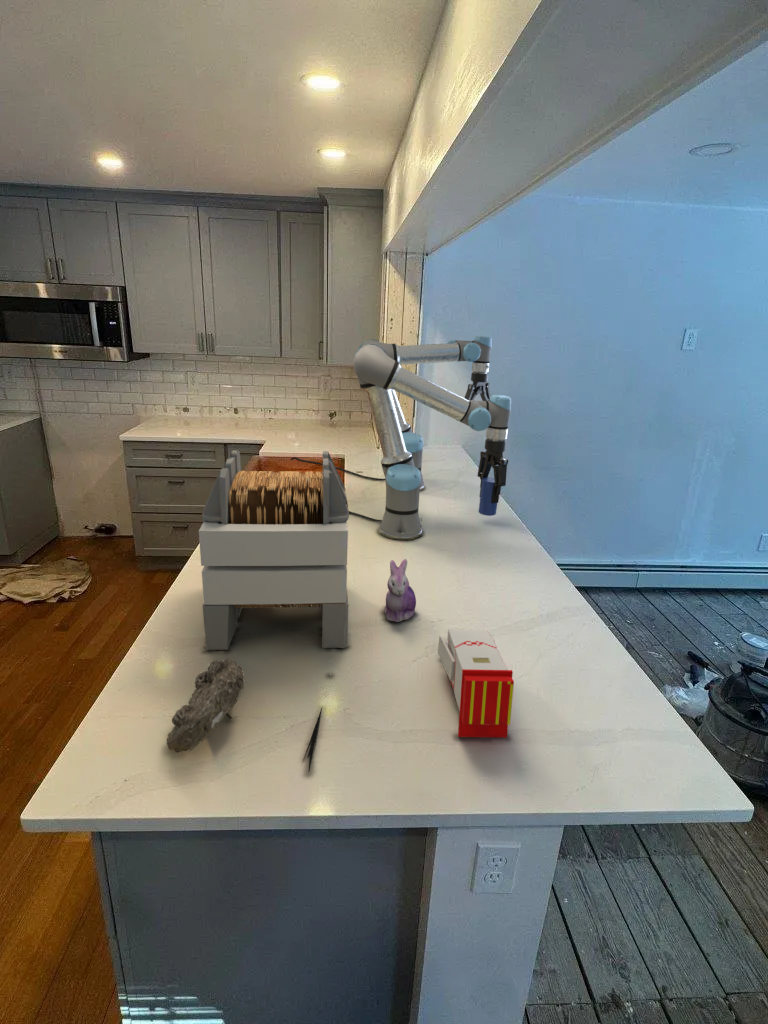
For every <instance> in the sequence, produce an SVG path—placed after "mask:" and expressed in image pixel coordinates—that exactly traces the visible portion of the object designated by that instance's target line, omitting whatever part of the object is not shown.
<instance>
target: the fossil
mask: <svg viewBox="0 0 768 1024" xmlns="http://www.w3.org/2000/svg"><path fill="white" fill-rule="evenodd" d="M243 670H244V669H243V667H242V665H240V664H237V662H236V661H235V660H234V659H232V658H231V659H227V658H226V659H224V660H223V661H222V660H217V659H212V660H211V661H210V663H209V665H208V666H207V671H201V672H199V673H198V674H197V675H196V676H195V680H194V684H195V685H194V687H195V689H194V690H193V693H192V694H191V697H190V698H189V700H188V704H184V705H182V706H181V707H180V709H177V710H176V711H175V713H174V715H173V716H172V718H171V723H172V724H173V727H172V730H171V731H170V732H168V734H167V738H166V741H167V742H166V745H167V749H168V750H169V751H173V752H174V753H176V754H178V753H182V752H188V751H189V752H192V751H193V750H195V748H196V747H197V746H199V744H200V743H201V742H203V741H204V740H205V739H206V738H207V737H208V736H209V735H210V734H211V733H212V732H214V730H215V729H217V727H218V726H219V724H220V722H221V721H222V720H223V719H224V718H225V716H226V717H227V719H229V720H233V717H232V715H230V714H229V710H230V709H231V708H234V706H235V704H236V703H237V702H238V699H239V697H240V695H241V693H242V691H243V690H245V689H244V688H245V675H244V671H243Z"/></svg>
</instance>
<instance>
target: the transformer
mask: <svg viewBox="0 0 768 1024" xmlns="http://www.w3.org/2000/svg"><path fill="white" fill-rule="evenodd" d="M241 463H242V462H241V453H240V449H238V450H236V449H232V450H231V452H230V454H229V456H228V457H227V458H226V461H225V463H224V465H223V467H222V468H220V471H219V473H218V475H217V478H216V480H215V482H214V484H213V487H212V489H211V491H210V494H209V496H208V498H207V500H206V503H205V505H204V507H203V509H202V512H201V519H202V521H203V522H202V524H201V526H200V528H199V529H198V537H199V538H198V540H199V555H200V566H201V567H203V568H202V570H201V580H202V597H203V603H202V617H203V618H202V619H203V629H204V638H205V646H204V648H205V651H213V650H216V651H217V650H224V651H226V650H228V649H229V647H230V645H231V642H232V639H233V638H234V635H235V632H236V630H237V627H238V620H237V619H239V618H240V617H241V612H242V609H244V608H245V609H251V608H252V609H261V608H263V609H266V608H267V609H268V608H278V609H279V608H297V607H298V608H311V607H312V608H316V607H318V608H321V616H322V619H321V620H322V621H321V622H322V625H321V626H322V627H321V629H322V630H321V631H322V635H321V636H322V637H321V639H322V648H323V649H324V648H325V649H329V648H330V649H331V648H332V649H333V648H336V649H337V648H338V649H345V648H346V647H347V646H348V645H349V644H348V643H349V642H348V641H349V597H348V587H347V586H348V585H347V584H348V566H347V565H348V548H349V547H348V546H349V544H348V543H349V542H348V541H349V528H348V522H347V521H348V520H349V518H350V513H349V511H350V510H349V505H348V498H347V491H346V490H347V489H346V487H345V485H344V482H343V481H342V478H341V476H340V474H339V472H338V469H336V467H337V466H336V465H335V463H334V460H333V458H332V457H331V454H330V452H329V450H328V451H327V450H323V451H322V463H323V465H322V471H315V472H314V471H305V472H301V471H295V470H293V471H287V470H286V471H284V470H282V471H276V472H275V471H272V470H269V471H267V470H259V471H258V470H249V471H248V470H242V466H241Z"/></svg>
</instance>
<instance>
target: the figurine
mask: <svg viewBox="0 0 768 1024" xmlns="http://www.w3.org/2000/svg"><path fill="white" fill-rule="evenodd" d="M407 567H408V559H406V558H404V559H403V560H402V561H401V563H400V565H399V566H398V565H397V563H396V562H395V561H394V560H393V559H391V560H390V561H389V570H390V576H389V578H388V579H387V589H388V591H387V592H386V594H385V595H386V596H385V607H384V615H385V616H386V620H387V621H391V622H395V623H400V622H402V621H406V620H409V619H410V618H411V617H413V616H414V615H415V610H416V606H417V597H416V593H415V591H414V590H413V587H411V586H410V582H409V579H408V577H407V574H406V571H407Z"/></svg>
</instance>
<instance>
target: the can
mask: <svg viewBox="0 0 768 1024" xmlns="http://www.w3.org/2000/svg"><path fill="white" fill-rule="evenodd" d="M493 485H495V480H494V477H492V476H491V477H490V476H488V477H486V478H483V479H482V487H481V495H480V494H479V503H478V513H479V514H480V515H482V516H488V517H489V516H490V517H491V516H495V515H496V514H497V509H498V503H491V500H492V492H493Z"/></svg>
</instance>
